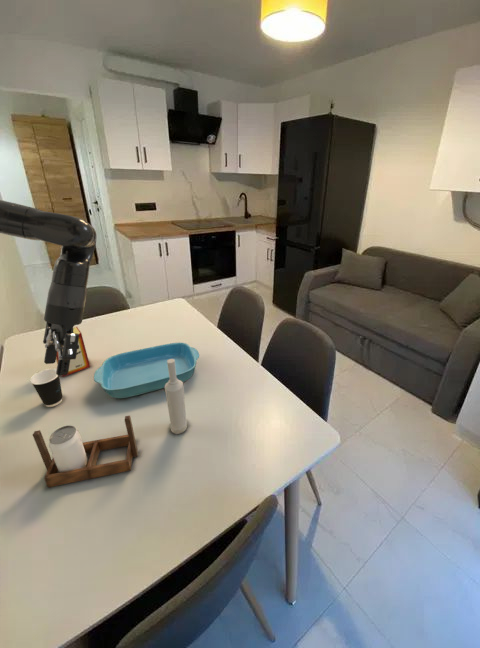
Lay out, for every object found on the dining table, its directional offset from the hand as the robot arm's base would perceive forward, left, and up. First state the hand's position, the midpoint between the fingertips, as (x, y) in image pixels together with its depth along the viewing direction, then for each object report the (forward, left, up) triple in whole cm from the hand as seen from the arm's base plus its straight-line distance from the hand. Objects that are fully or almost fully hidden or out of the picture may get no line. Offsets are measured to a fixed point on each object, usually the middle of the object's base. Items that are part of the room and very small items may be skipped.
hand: (55, 369), depth 69 cm
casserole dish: (+16, +30, -29) cm, 45 cm away
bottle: (+26, +3, -29) cm, 39 cm away
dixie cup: (-15, +24, -29) cm, 40 cm away
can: (-1, -4, -29) cm, 29 cm away
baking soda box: (-14, +43, -29) cm, 53 cm away
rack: (+4, -4, -29) cm, 29 cm away
